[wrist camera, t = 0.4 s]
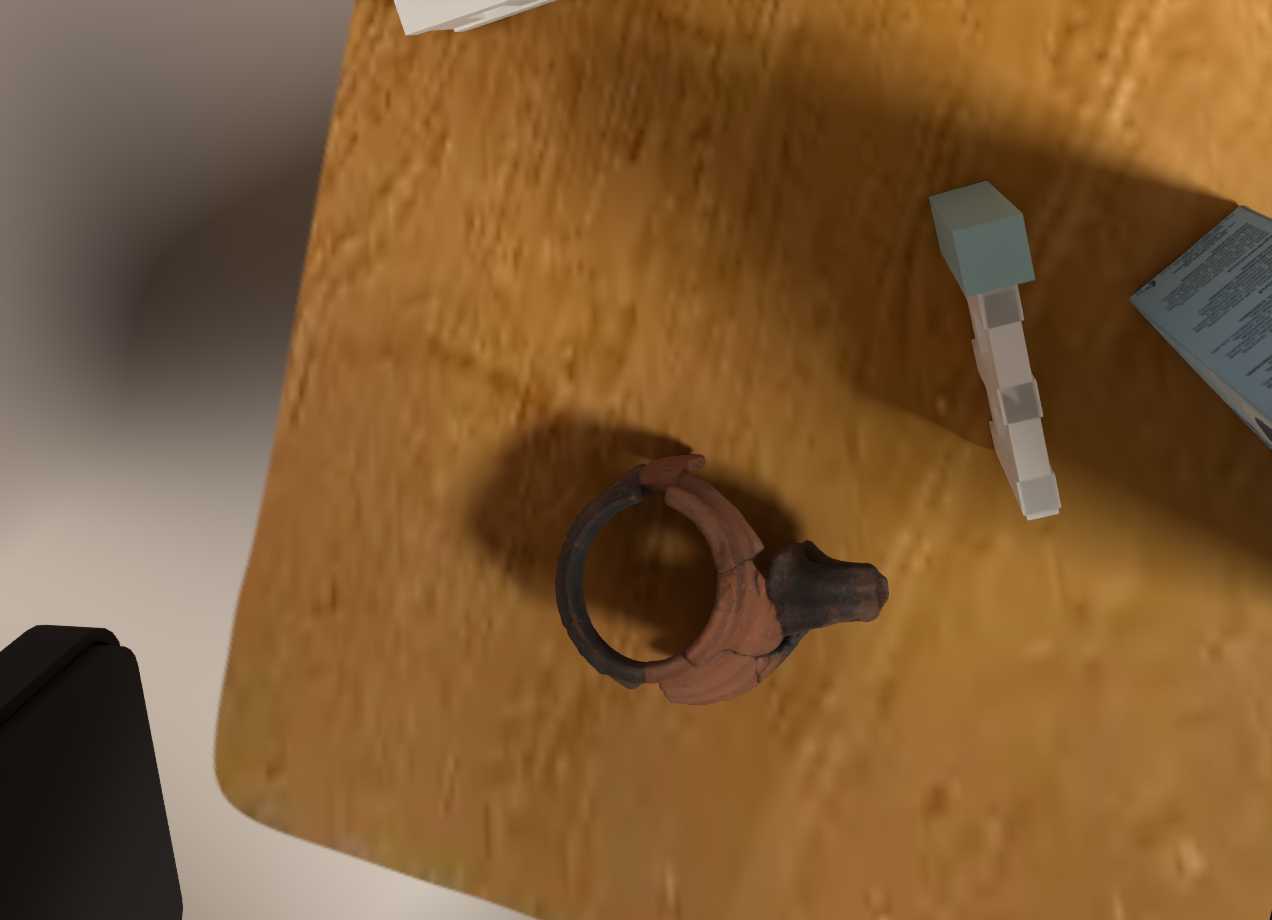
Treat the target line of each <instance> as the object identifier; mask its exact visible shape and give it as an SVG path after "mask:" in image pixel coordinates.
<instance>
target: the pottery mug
mask: <svg viewBox="0 0 1272 920" xmlns="http://www.w3.org/2000/svg"><path fill="white" fill-rule="evenodd" d="M705 463H706V462H705V457H704V456H703V455H697V454H687V455H676V456H669V457H664V458H659V459H657V460H655V461H652V462H650V463H649V464H648V465H645V464H641V465H638V466H636V467H634V468H632V469H631V470H630V471H629V472H627V473H626V474H624V475H623V476H622V477H621V478H619V479H618V480H617V481H616V482H615V483H613V484H612V485H611V486H610V487H609V488H608V489H607V490H606V491H605V492H604V493H602V494H601V495H600V496H599V497H597V498H596V499H595V500H593V501H592V502H591V503H590V504H588V505H587V506H586V507H585V508H584V509H583V510H582V512H581V513H580V514H579V515H578V516H577V517H576V519H575V521H574V523H573V524H572V526H571V528H570V530H569V532H568V534H567V540H566V542H565V543H564V544H563V546H562V550H561V553H560V555H559V557H558V567H557V573H556V580H555V584H556V597H557V599H556V600H557V606H558V610H559V613H560V616H561V621H562V624H563V626H564V627H565V628H566V629H567V633H568V635H569V637H570V638H571V640H572V641H573V643H574V645H575V646H576V647H577V649H578V651H579V653H580V654H581V655H582V656H583V657H584V658H585V659H586V660H587V661H588V662H589V663H590V664H591V665H592V666H593V667H594V668H595V669H596V670H597V671H598V672H599V673H601V674H604V675H608V676H610V677H611V678H613V679H614V680H615V681H617V682H618V683H620V684H621V685H623V686H624V687H626V688H628V689H635V688H638V687H639V685H640V684H643V683H659V685H660V688H661V690H662V691H664V695H665V696H666V697H667V698H668V700H669V701H670V702H671V703H679V704H688V705H706V704H711V703H716V702H720V701H725V700H730V699H733V698H735V697H738V696H740V695H742V694H744V693H746V692H748V691H750V690H751V689H753V688H754V687H756V686H757V685H758V684H759V683H760V682H761V681H763V680H764V679H765V678H766V677H767V676H768V675H770V674H771V673H772V672H773V671H774V670H775V669H776V668H777V667H778V666H779V665H780V664H781V663H782V662H783V661H784V660H785V659H786V657H788V656H789V654H790V653H791V652H792V651H793V650H794V648H795V647H796V646H797V645H798V643H799V641H800V640H801V639H802V637H803V636H804V635H805V634H806V633H807V632H808V631H809V629H814V628H822V627H826V626H829V625H832V624H835V623H840V622H853V621H863V622H869V621H872V620H874V619H876V618H877V617H878V616H879V614H880V611H881V609H882V607H883V606H884V604H885V603H886V602H887V600H888V595H889V591H888V581H887V579H886V577H885V576H883V575H882V574H881V573H880V572H879V571H878V570H877V568H876V567H875V566H873V565H872V564H869V563H854V562H845V561H840V560H836V559H833V558H830V557H828V556H827V555H825V554H824V553H823V552H822V551H821V550H819V549H818V548H817V547H816V545H815V544H814V543H813V542H811V541H809V540H806V541H804V542H803V543H797V544H794V543H788V544H785V545H783V546H782V547H781V548H780V549H779V550H778V551H777V552H776V553H775V554H774V555H773V556H772V557H771V559H770V560H769V563H768V565H767V567H766V577H765V578H764V577H763V576H762V574H761V573H760V572H759V571H758V570H757V569H756V567H755V565H754V563H753V558H754V557H755V556H756V555H757V554H759V553H760V552H761V551H762V550H763V549H764V546H763V543H762V541H761V540H760V538H759V537H758V536H757V535H756V533H755V531H754V530H753V529H752V527H751V526H750V525H749V524H748V523H747V521H746V520H745V518H744V517H743V515H742V514H741V512H740V511H739V510H738V509H737V508H736V507H735V506H734V505H733V504H731V503H730V502H729V501H728V500H727V499H726V498H725V497H724V496H723V495H722V494H721V493H720V492H719V491H718V490H717V489H716V488H715V487H713V486H712V485H711V484H709V483H708V482H706V481H705V480H703V479H701V478H699V477H697V476H695V475H692V474H690V471H691V470H693V469H696V468H699V467H702V466H704V465H705ZM646 495H665V497H664V501H665V504H666V505H667V506H669V507H671V508H673V509H675V510H677V511H678V512H680V513H682V514H683V515H684V516H686V517H687V518H688V519H690V520H691V521H692V522H693V523H694V524H695V525H696V526H697V528H698V529H699V530H700V532H701V533H702V535H703V536H704V538H705V539H706V541H707V544H708V546H709V548H710V551H711V553H712V557H713V560H714V563H715V567H716V570H717V572H718V577H717V592H716V597H715V602H714V607H713V610H712V613H711V615H710V617H709V620H708V622H707V624H706V626H705V628H704V629H703V631H702V632H701V633H700V635H699V637H698V638H697V639H696V640H695V641H694V642H693V643H692V644H691V645H690V646H689V647H687V648H686V649H685V650H684V651H682V652H680V653H678V654H676V655H675V656H673V657H670V658H667V659H664V660H659V661H649V662H640V661H636V660H632V659H630V658H627V657H625V656H623V655H621V654H620V653H618V652H616V651H615V650H614V649H612V648H611V647H610V646H609V645H608V644H607V643H606V642H605V641H604V640H603V639H602V638H601V637H600V636H599V634H598V633H597V631H596V630H595V629H594V627H593V625H592V623H591V621H590V618H589V616H588V613H587V610H586V606H585V601H584V596H583V584H582V583H583V570H584V565H585V560H586V557H587V554H588V551H589V548H590V546H591V544H592V542H593V540H594V539H595V537H596V535H597V534H598V532H599V531H600V529H601V528H602V527H603V526H604V524H605V523H606V522H607V521H608V520H609V519H610V518H612V517H613V516H614V515H616V514H618V513H619V512H620V511H622V510H623V509H625V508H627V507H629V506H632V505H635V504H638V503H639V502H641V501H642V500H643V499H644V497H645V496H646Z"/></svg>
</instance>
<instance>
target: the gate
mask: <svg viewBox="0 0 1272 920" xmlns="http://www.w3.org/2000/svg"><path fill="white" fill-rule="evenodd" d="M553 1H556V0H394V2H395V5H396V8H397V11H398V14H399V17H400V20H401V23H402V26H403V29H404V31H405V34H406V35H418V34H421V33H424V32H427V31H430V30H446V29H454V31H455V32H464V31H467V30H470V29H473V28H476V27H479V26H482V25H485V24H488V23H491V22H494V21H497V20H500V19H503V18H506V17H509V16H512V15H515V14H518V13H521V12H524V11H527V10H530V9H533V8H536V7H539V6H542V5H545V4H548V3H550V2H553Z"/></svg>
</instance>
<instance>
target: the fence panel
mask: <svg viewBox="0 0 1272 920" xmlns="http://www.w3.org/2000/svg"><path fill="white" fill-rule="evenodd" d="M960 288H961V287H960ZM961 290H962V289H961ZM964 295H965V294H964ZM965 297H966V296H965ZM966 298H967V302H968V306H969V311H970V316H971V320H972V325H973V330H974V334H975V339H973V340H971V341H972V345H973V350H974V355H975V359H976V364H977V369H978V372H979V374H980V376H981V378H982V380H983V382H984V384H985V386H986V391H987V396H988V400H989V405H990V410H991V414H992V419H993V420H992V421H989V425H990V429H991V434H992V439H993V443H994V448H995V452H996V454H997V456H998V459H999V461H1000V463H1001V466H1002V468H1003V470H1004V472H1005V475H1006V477H1007V479H1008V482H1009V484H1010V486H1011V488H1012V491H1013V493H1014V495H1015V498H1016V500H1017V502H1018V505H1019V507H1020V509H1021V511H1022V514H1023V516H1024V515H1025V516H1026V518H1027V520H1032V519H1037V518H1042V517H1047V516H1051V515H1056V514H1059V509H1058V508H1061V503H1060V498H1059V493H1058V488H1057V482H1056V477H1055V473H1054V472H1053V470H1052V468H1051V466H1050V464H1049V459H1048V454H1047V449H1046V444H1045V439H1044V434H1043V429H1042V424H1041V419H1040V417H1043V412H1042V407H1041V402H1040V397H1039V391H1038V386H1037V381H1036V379H1035V378H1034V376H1033V375H1032V373H1031V369H1030V364H1029V359H1028V353H1027V348H1026V343H1025V338H1024V333H1023V328H1022V323H1021V321H1023V320H1024V316H1023V311H1022V306H1021V301H1020V295H1019V290H1018V285H1013V286H1009V287H1005V288H1002V289H998V290H994V291H990V292H986V293H982V294H978V295H974V296H970V297H966Z"/></svg>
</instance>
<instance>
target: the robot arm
mask: <svg viewBox="0 0 1272 920" xmlns="http://www.w3.org/2000/svg"><path fill="white" fill-rule="evenodd" d="M182 913H183V903H182V896H181V890H180V884H179V879H178V874H177V868H176V864H175V858H174V853H173V847H172V842H171V837H170V831H169V826H168V821H167V816H166V810H165V805H164V800H163V794H162V789H161V784H160V778H159V774H158V768H157V763H156V758H155V752H154V747H153V741H152V736H151V731H150V726H149V720H148V715H147V710H146V705H145V699H144V694H143V688H142V683H141V678H140V672H139V667H138V663H137V660H136V657H135V655H134V654H133V652H132V651H131V650H130V649H128V648H127V647H124V646H120V643H119V641H118V639H117V638H116V636H115V635H114V634H113V632H111V631H109V630H107V629H105V628H92V627H75V626H56V625H36V626H35V627H33V628H31V629H29V630H27V631H26V632H24V633H23V634H22V635H21V636H20V637H18V638H17V639H16V640H14V641H13V642H12V643H11V644H10V645H8V646H7V647H6V648H4V649H3V650H2V651H1V652H0V920H182ZM1270 920H1272V912H1271V916H1270Z"/></svg>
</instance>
